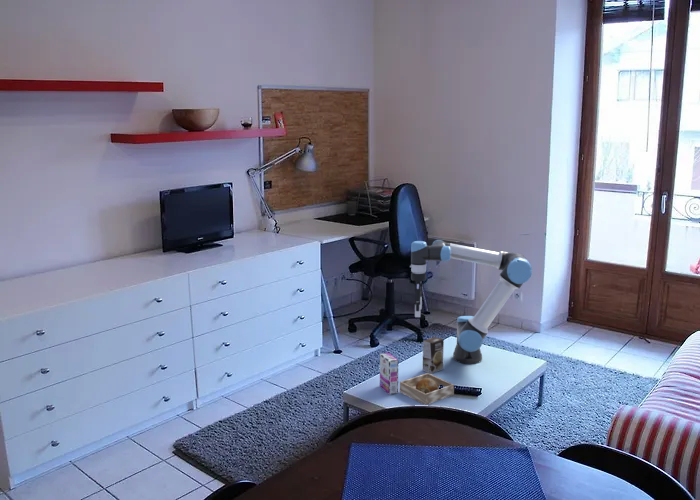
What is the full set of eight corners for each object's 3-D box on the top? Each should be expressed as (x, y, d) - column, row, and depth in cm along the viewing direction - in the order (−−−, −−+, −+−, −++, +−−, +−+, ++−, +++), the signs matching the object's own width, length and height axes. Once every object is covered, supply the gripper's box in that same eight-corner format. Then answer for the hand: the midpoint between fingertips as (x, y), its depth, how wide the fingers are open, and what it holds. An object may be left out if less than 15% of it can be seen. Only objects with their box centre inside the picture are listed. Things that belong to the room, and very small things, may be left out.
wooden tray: (427, 382, 298) (427, 372, 297) (453, 394, 284) (454, 384, 283) (399, 392, 287) (399, 382, 287) (425, 405, 273) (425, 394, 272)
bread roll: (438, 400, 283) (444, 384, 284) (423, 396, 278) (429, 380, 278) (424, 393, 292) (430, 377, 292) (409, 389, 286) (415, 373, 286)
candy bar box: (398, 393, 286) (398, 360, 283) (389, 395, 284) (389, 361, 281) (388, 384, 296) (388, 352, 293) (379, 386, 295) (379, 353, 291)
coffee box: (431, 374, 308) (432, 343, 305) (422, 370, 313) (422, 340, 310) (443, 369, 314) (444, 339, 311) (434, 365, 319) (434, 336, 315)
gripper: (412, 266, 321) (412, 305, 325) (409, 277, 297) (409, 320, 301) (427, 266, 320) (426, 306, 324) (425, 278, 296) (424, 320, 300)
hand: (418, 313), depth 312 cm, fingers open, 13 cm apart
